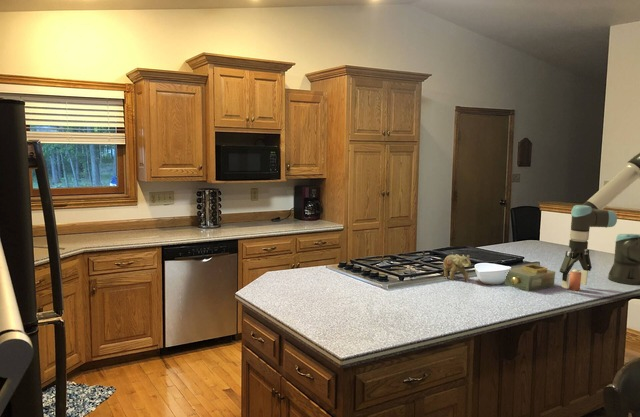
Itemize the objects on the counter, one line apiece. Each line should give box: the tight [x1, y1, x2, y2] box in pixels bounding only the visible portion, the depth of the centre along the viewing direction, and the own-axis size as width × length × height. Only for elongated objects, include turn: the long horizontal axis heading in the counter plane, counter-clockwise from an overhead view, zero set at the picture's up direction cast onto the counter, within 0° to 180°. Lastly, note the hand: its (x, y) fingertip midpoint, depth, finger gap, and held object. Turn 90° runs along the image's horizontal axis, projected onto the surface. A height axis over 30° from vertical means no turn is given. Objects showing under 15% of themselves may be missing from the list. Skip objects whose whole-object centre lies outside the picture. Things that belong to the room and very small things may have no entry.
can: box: [568, 269, 582, 292], centre depth 241 cm, size 5×5×9 cm
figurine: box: [442, 253, 472, 282], centre depth 254 cm, size 10×16×16 cm, turn 14°
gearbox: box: [504, 263, 556, 293], centre depth 245 cm, size 20×13×8 cm, turn 121°
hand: (574, 286), depth 241 cm, fingers open, 13 cm apart
